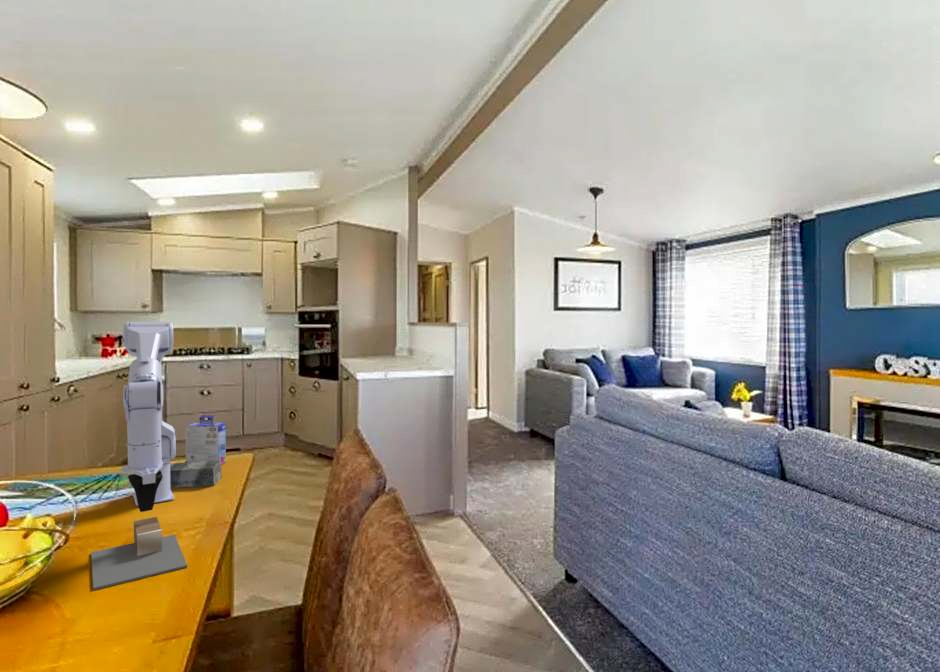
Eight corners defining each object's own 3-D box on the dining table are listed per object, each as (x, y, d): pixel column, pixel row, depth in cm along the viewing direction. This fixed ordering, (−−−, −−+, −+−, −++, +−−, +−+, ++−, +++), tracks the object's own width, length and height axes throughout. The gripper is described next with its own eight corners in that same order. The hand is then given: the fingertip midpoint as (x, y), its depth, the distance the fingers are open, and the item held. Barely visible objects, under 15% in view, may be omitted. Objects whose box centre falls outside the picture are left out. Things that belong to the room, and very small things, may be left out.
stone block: (168, 479, 148) (168, 460, 147) (224, 477, 150) (223, 458, 150) (154, 489, 139) (154, 469, 139) (214, 487, 141) (213, 467, 141)
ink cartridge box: (227, 461, 163) (226, 414, 163) (219, 467, 158) (218, 418, 157) (194, 461, 163) (193, 414, 162) (185, 467, 158) (184, 418, 157)
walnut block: (133, 521, 107) (137, 535, 101) (156, 516, 109) (161, 530, 103) (134, 540, 107) (137, 556, 101) (157, 536, 110) (162, 550, 103)
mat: (91, 554, 102) (91, 551, 102) (174, 536, 111) (174, 534, 111) (93, 590, 89) (93, 588, 89) (187, 567, 98) (187, 565, 98)
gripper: (118, 437, 109) (119, 503, 110) (123, 453, 97) (124, 526, 98) (158, 432, 113) (159, 496, 114) (167, 447, 102) (168, 518, 102)
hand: (146, 510), depth 106 cm, fingers closed
